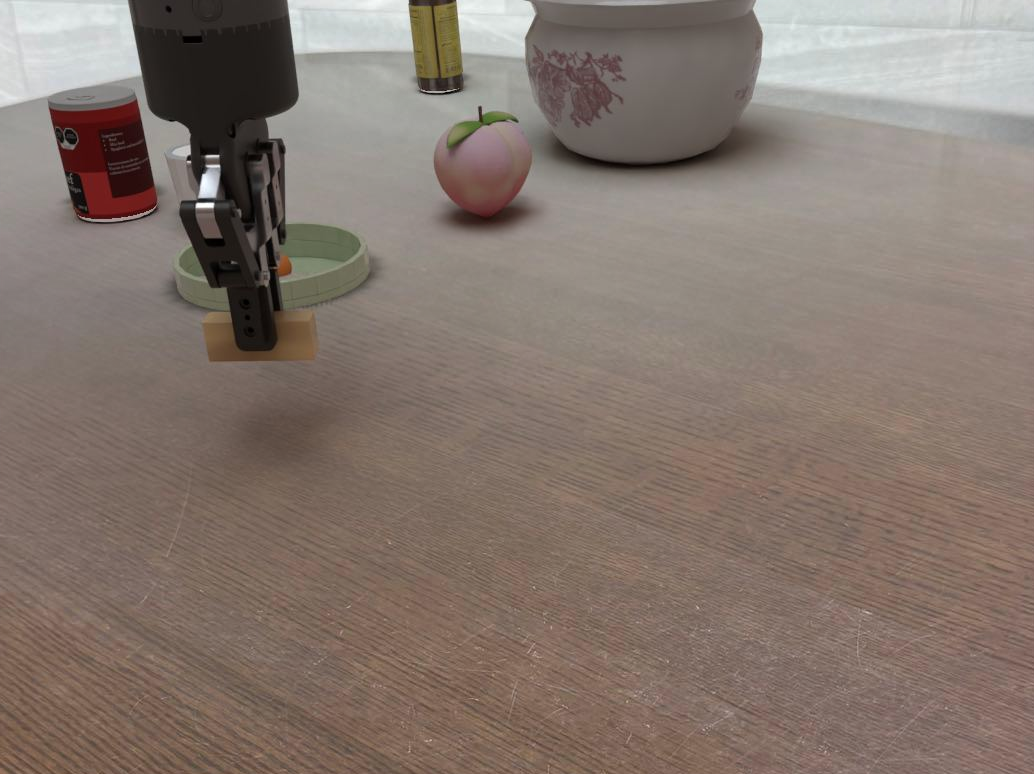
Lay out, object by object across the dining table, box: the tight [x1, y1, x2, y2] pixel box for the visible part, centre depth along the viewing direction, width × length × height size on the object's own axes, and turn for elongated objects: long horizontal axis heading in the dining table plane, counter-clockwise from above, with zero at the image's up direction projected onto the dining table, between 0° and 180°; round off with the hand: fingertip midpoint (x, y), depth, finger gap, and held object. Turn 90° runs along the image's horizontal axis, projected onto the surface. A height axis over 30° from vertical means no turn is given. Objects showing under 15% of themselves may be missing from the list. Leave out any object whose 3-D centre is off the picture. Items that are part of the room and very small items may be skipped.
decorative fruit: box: [433, 105, 533, 219], centre depth 109 cm, size 9×8×10 cm
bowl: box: [172, 221, 371, 312], centre depth 96 cm, size 15×15×4 cm
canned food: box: [47, 85, 158, 219], centre depth 114 cm, size 8×8×11 cm
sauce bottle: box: [408, 0, 464, 91], centre depth 154 cm, size 6×6×20 cm
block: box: [201, 309, 320, 363], centre depth 68 cm, size 6×2×2 cm, turn 89°
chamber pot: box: [524, 0, 764, 166], centre depth 125 cm, size 28×28×21 cm
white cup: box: [164, 142, 196, 206], centre depth 111 cm, size 7×7×7 cm
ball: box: [274, 254, 292, 278], centre depth 96 cm, size 2×2×2 cm
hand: (261, 340), depth 68 cm, fingers closed on block, 1 cm apart
